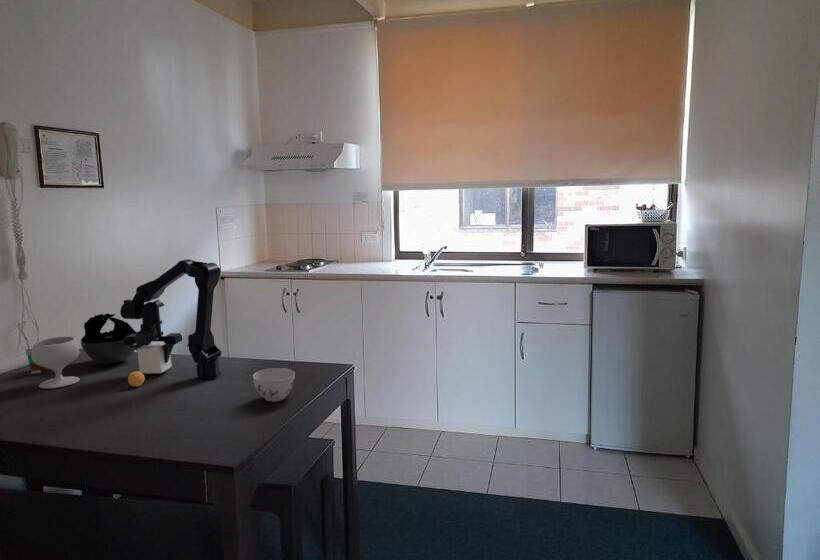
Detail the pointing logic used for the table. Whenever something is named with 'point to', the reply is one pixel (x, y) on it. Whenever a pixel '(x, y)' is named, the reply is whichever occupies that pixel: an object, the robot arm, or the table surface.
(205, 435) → the table surface
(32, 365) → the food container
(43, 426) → the table surface
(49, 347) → the chalice
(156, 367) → the white foam cube
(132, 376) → the ball
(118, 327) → the bowl of black rocks
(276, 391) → the teacup
